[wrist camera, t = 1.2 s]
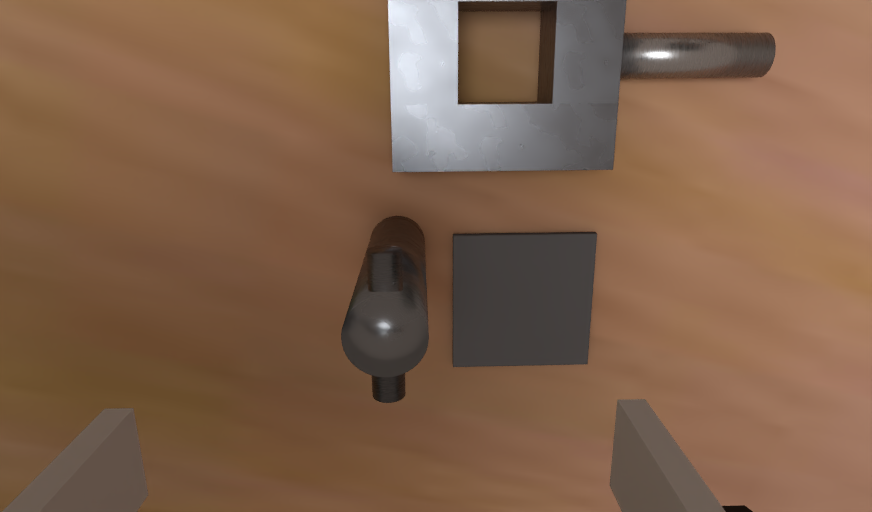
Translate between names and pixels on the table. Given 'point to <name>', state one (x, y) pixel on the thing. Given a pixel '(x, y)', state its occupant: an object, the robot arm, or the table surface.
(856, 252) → the table surface
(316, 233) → the table surface
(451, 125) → the block
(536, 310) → the mat
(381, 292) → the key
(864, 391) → the table surface
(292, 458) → the table surface
